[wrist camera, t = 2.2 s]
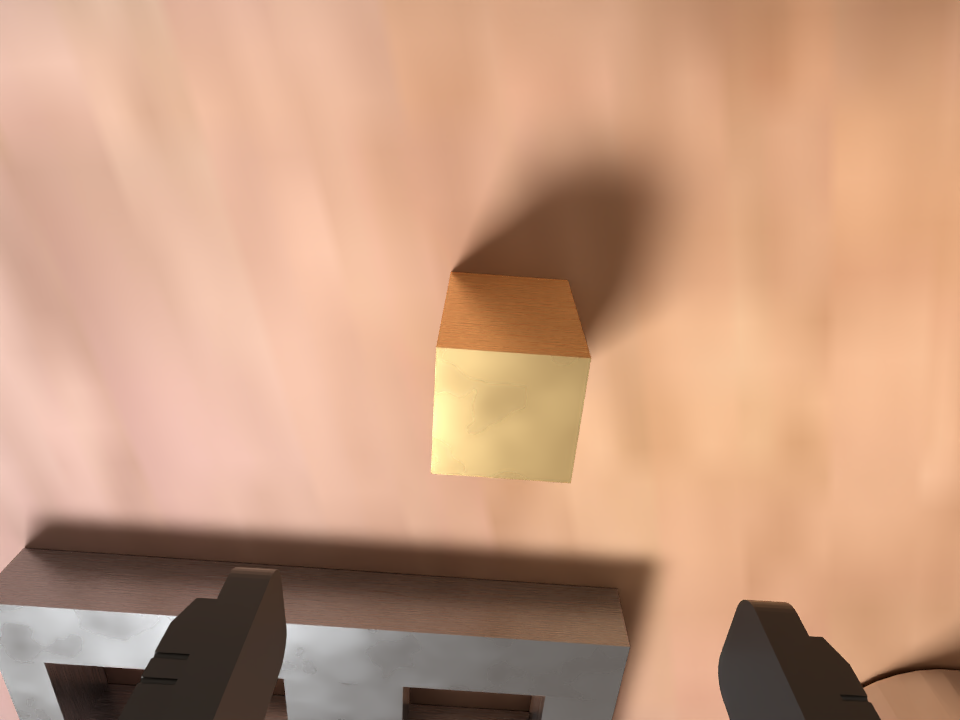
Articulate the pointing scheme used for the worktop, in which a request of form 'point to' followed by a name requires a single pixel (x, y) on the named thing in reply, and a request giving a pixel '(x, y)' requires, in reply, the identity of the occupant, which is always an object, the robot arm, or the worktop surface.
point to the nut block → (508, 379)
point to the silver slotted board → (314, 638)
